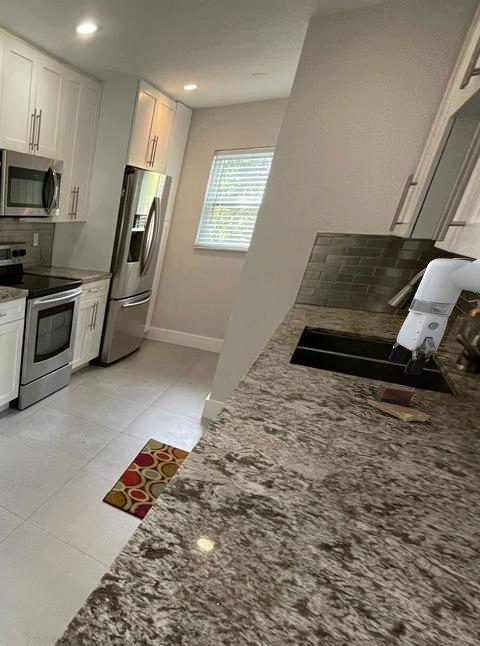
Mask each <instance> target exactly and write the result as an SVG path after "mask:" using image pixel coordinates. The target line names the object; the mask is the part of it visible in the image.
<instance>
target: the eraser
mask: <svg viewBox="0 0 480 646" xmlns="http://www.w3.org/2000/svg"><path fill="white" fill-rule="evenodd" d="M414 394H415V391H414V390H412V388H410V387H407V386H400V385H393V384H387V383H385V384H384V383H380V384H379V387H378V390H377V392H376V394H375V400H376V401H380V402H385V403H390V404H395V405H400V406H403V407H408V408H409V405H410V403H411V401H412V398H413V396H414Z"/></svg>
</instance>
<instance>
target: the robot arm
mask: <svg viewBox="0 0 480 646" xmlns="http://www.w3.org/2000/svg"><path fill="white" fill-rule="evenodd" d="M462 291H466V292H467V291H469V292H472V293H473V292H474V293H477V294H478V293H479V294H480V259H479V258H478V259H475V260H474V261H472V262H471V261H469V260H466V259H465V260H464V259H456V258H455V259H454V258H435V259H433V260H431V261H430V262H429V264H428V265H427V267H426V269H425V272H424V274H423V276H422V278H421V281H420V283H419V286H418V288H417V290H416V292H415V294H414V297H413V299H412V300H411V301H412V302H411V303H410V306H409V308H408V311H409V313H408V314H407V316H406V318H405V320H404V322H403V323H402V326H401V327H400V329H399V331H397V336H396V339H395V340H394V341H395V343H394V344H393V346H392V350H391V352H390V354H389V356H388V359H387V362H388V363H391V364H400V365H402V364H404V362H405V360H406V358H407V356H408V353H409V351H411V353H412V354H411V358H409V359H408V362H407V364H406V366H405V368H404V371H403V373H404V374H406V375H413V376H421V375H422V372H423V371H424V369H425V367H426V364H427V363H428V362H429V361H430V359H431V358H432V357H433V355H434V354H435V353H437V351H438V348H439V346H440V344H441V342H442V339H443V337H444V334H445V331H446V328H447V325H448V319H449V317H450V316H451V314H452V312H453V310H454V307H455V306H456V304H457V301H458V299H459V297H460V295H461V293H462Z"/></svg>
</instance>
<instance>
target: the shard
mask: <svg viewBox="0 0 480 646" xmlns="http://www.w3.org/2000/svg"><path fill="white" fill-rule="evenodd" d="M366 400H367V405H370V406H372V407H374V408H377V409H379V410H381V411H383V412H385V413H388V414H389V415H391V416H394V417H396V418H398V419H400V420H402V421H403V422H406V423H407V422H413V421H417V422H426V421H428V420H429V419H430V418H431V415H429V414H427V413H425V412H422V411H420V410H418V409H415V408H410V407H409V406H408V407H407V406H401V405H395V404H390V403H385V402H380V401H378V400H377V399H372V398H371V399H370V398H366Z"/></svg>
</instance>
